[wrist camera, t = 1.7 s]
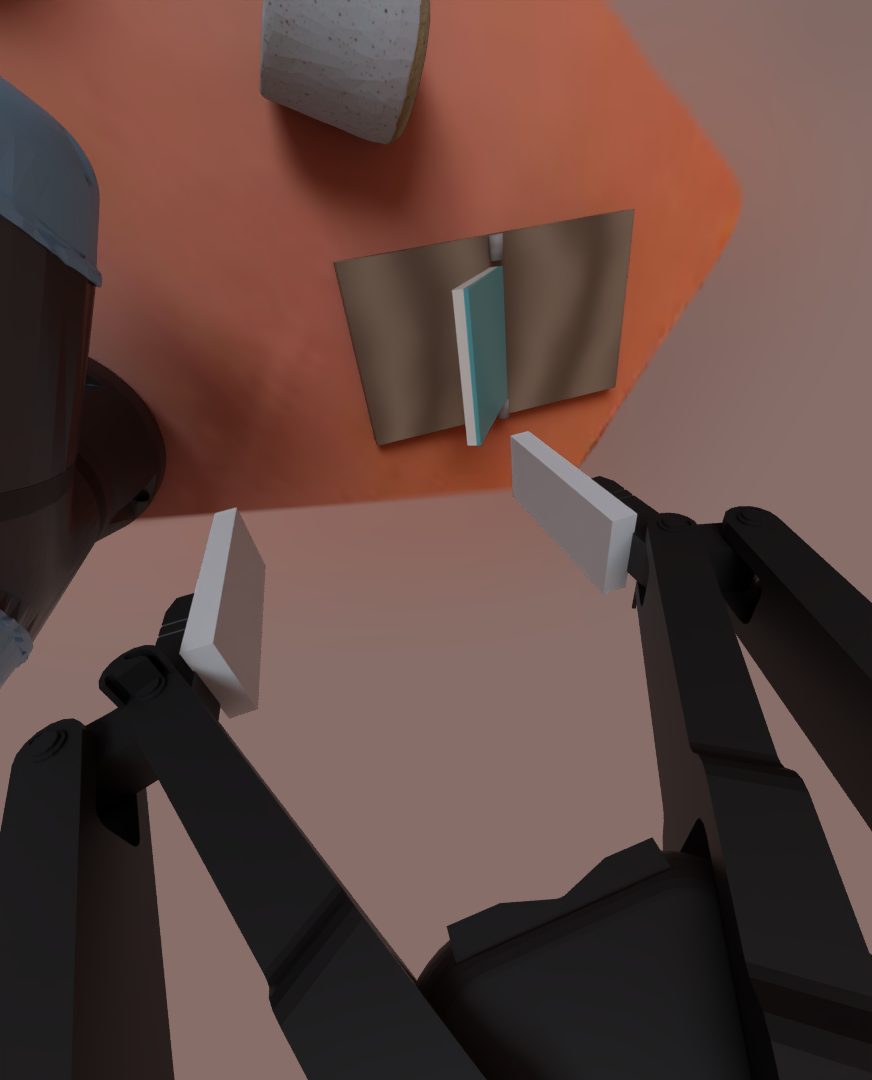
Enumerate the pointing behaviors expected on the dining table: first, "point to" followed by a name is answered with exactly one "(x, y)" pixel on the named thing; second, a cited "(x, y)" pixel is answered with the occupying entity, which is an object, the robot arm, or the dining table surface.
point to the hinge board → (530, 319)
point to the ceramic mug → (346, 61)
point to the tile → (481, 350)
